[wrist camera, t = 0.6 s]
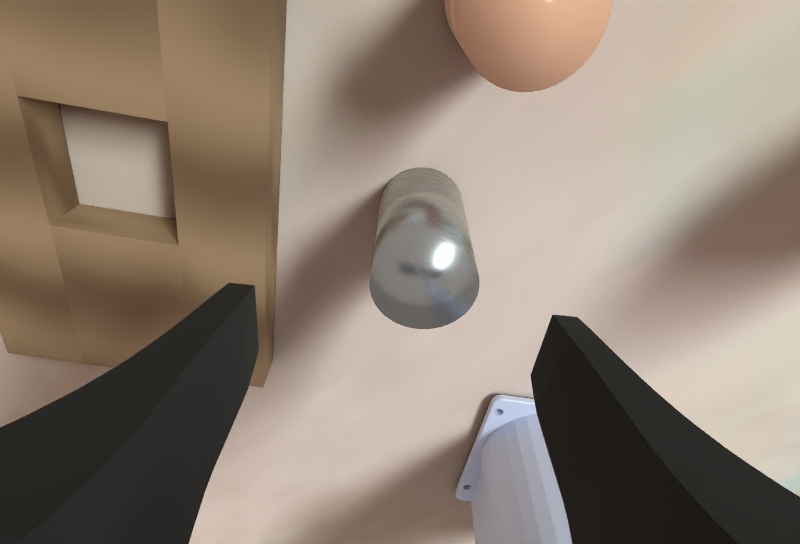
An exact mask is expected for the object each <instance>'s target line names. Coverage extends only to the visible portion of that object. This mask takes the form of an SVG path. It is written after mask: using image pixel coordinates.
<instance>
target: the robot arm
mask: <svg viewBox="0 0 800 544" xmlns="http://www.w3.org/2000/svg"><path fill="white" fill-rule="evenodd" d="M258 352H259V341H258V326H257V311H256V296H255V285H248V284H237V283H228V284H227V285H225V286H224V287H223V288H221V289H220V290H219V291H217V292H216V293H215V294H214V295H212V296H211V297H210V298H209V299H208V300H206V301H205V302H204V303H203V304H201V305H200V306H199V307H198V308H196V309H195V310H194V311H193V312H191V313H190V314H189V315H188V316H186V317H185V318H184V319H182V320H181V321H180V322H179V323H177V324H176V325H175V326H173V327H172V328H171V329H169V330H168V331H167V332H166V333H164V334H163V335H162V336H160V337H159V338H157V339H156V340H154V341H153V342H152V343H150V344H149V345H147V346H146V347H144V348H143V349H142V350H140V351H139V352H137V353H136V354H134V355H133V356H132V357H130V358H129V359H127V360H126V361H124V362H123V363H121V364H119V365H118V366H116V367H115V368H113V369H111V370H110V371H108V372H107V373H105V374H103V375H101V376H100V377H98V378H96V379H95V380H93V381H91V382H89V383H88V384H86V385H84V386H83V387H81V388H79V389H77V390H75V391H74V392H72V393H70V394H68V395H66V396H64V397H62V398H60V399H58V400H56V401H54V402H52V403H50V404H48V405H46V406H44V407H42V408H40V409H38V410H36V411H34V412H32V413H30V414H28V415H26V416H25V417H22V418H20V419H18V420H16V421H14V422H12V423H10V424H7V425H5V426H3V427H1V428H0V544H189V540H190V537H191V534H192V531H193V527H194V524H195V521H196V518H197V515H198V512H199V509H200V505H201V502H202V499H203V496H204V493H205V490H206V487H207V485H208V482H209V479H210V477H211V474H212V471H213V469H214V467H215V464H216V462H217V460H218V457H219V455H220V453H221V450H222V448H223V446H224V444H225V441H226V439H227V437H228V434H229V432H230V430H231V427H232V425H233V423H234V420H235V418H236V416H237V413H238V411H239V409H240V406H241V404H242V402H243V399H244V397H245V394H246V392H247V390H248V387H249V384H250V381H251V377H252V374H253V370H254V367H255V363H256V359H257V356H258ZM531 381H532V388H533V395H534V399H529V398H522V397H515V396H508V395H497V396H495V397H493V398H492V400H491V402H490V405H489V407H488V410H487V412H486V415H485V418H484V420H483V423H482V425H481V428H480V430H479V433H478V435H477V438H476V440H475V443H474V445H473V448H472V450H471V453H470V455H469V458H468V460H467V463H466V465H465V468H464V470H463V473H462V475H461V478H460V480H459V483H458V485H457V488H456V490H455V494H456V498H457V499H459V500H462V501H470V502H471V509H472V518H473V527H474V536H475V544H800V497H799V496H797V495H796V494H794V493H792V492H791V491H789V490H788V489H786V488H784V487H783V486H781V485H780V484H778V483H776V482H775V481H773V480H772V479H770V478H769V477H767V476H766V475H764V474H763V473H761V472H760V471H758V470H757V469H755V468H754V467H752V466H751V465H749V464H748V463H746V462H745V461H743V460H742V459H741V458H739V457H738V456H736V455H735V454H734V453H732V452H731V451H729V450H728V449H726V448H725V447H724V446H722V445H721V444H720V443H718V442H717V441H716V440H714V439H713V438H712V437H711V436H709V435H708V434H707V433H705V432H704V431H703V430H701V429H700V428H699V427H697V426H696V425H695V424H693V423H692V422H691V421H690V420H688V419H687V418H686V417H685V416H684V415H682V414H681V413H680V412H679V411H678V410H676V409H675V408H674V407H673V406H672V405H671V404H669V403H668V402H667V401H666V400H665V399H664V398H662V397H661V396H660V395H659V394H658V393H657V392H656V391H654V390H653V389H652V388H651V387H650V386H649V385H648V384H647V383H646V382H645V381H643V380H642V379H641V378H640V377H639V376H638V375H637V374H636V373H635V372H634V371H633V370H632V369H631V368H630V367H629V366H628V365H626V364H625V363H624V362H623V361H622V360H621V359H620V358H619V357H618V356H617V355H616V354H615V353H614V352H613V351H612V350H611V349H610V348H609V347H608V346H607V345H606V344H605V343H604V342H603V341H602V340H601V339H600V338H599V337H598V336H597V335H596V334H595V333H594V332H593V331H592V330H591V329H590V328H588V327H587V326H586V325H585V324H584V323H583V322H582V321H581V320H580V319H579V318H577V317H570V316H560V315H552V318H551V320H550V323H549V326H548V329H547V331H546V334H545V337H544V340H543V342H542V345H541V348H540V351H539V353H538V356H537V359H536V362H535V364H534V367H533V370H532V373H531ZM497 409H499V410H497Z"/></svg>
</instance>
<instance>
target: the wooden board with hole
mask: <svg viewBox="0 0 800 544" xmlns="http://www.w3.org/2000/svg"><path fill="white" fill-rule="evenodd" d="M286 3H287V0H0V333H1V335H2V338H3V341H4V344H5V346H6V349H7V352H8V353H13V354H20V355H28V356H35V357H42V358H50V359H57V360H65V361H72V362H79V363H87V364H94V365H102V366H109V367H116V366H118V365H119V364H121V363H123V362H124V361H126V360H127V359H129V358H130V357H132V356H133V355H134V354H136V353H137V352H139V351H140V350H142V349H143V348H144V347H146V346H147V345H149V344H150V343H152V342H153V341H154V340H156V339H157V338H159V337H160V336H162V335H163V334H164V333H166V332H167V331H168V330H169V329H171V328H172V327H173V326H175V325H176V324H177V323H179V322H180V321H181V320H182V319H184V318H185V317H186V316H188V315H189V314H190V313H191V312H193V311H194V310H195V309H196V308H198V307H199V306H200V305H201V304H203V303H204V302H205V301H206V300H208V299H209V298H210V297H211V296H212V295H214V294H215V293H216V292H217V291H219V290H220V289H221V288H223V287H224V286H225V285H227V284H228V283H237V284H248V285H255V296H256V311H257V326H258V341H259V352H258V356H257V359H256V363H255V367H254V370H253V374H252V377H251V381H250V384H249V386H257V387H263V385H264V383H265V380H266V377H267V374H268V371H269V368H270V366H271V363H272V360H273V340H274V315H275V289H276V263H277V237H278V211H279V185H280V159H281V133H282V107H283V81H284V55H285V29H286ZM58 103H62V104H68V105H73V106H79V107H85V108H90V109H96V110H102V111H108V112H113V113H119V114H125V115H131V116H136V117H142V118H148V119H154V120H159V121H165V122H168V133H169V144H170V155H171V166H172V177H173V188H174V200H175V211H176V220H175V219H169V218H163V217H156V216H150V215H144V214H138V213H131V212H125V211H119V210H113V209H106V208H100V207H94V206H87V205H81V204H79V200H78V195H77V191H76V186H75V181H74V176H73V171H72V167H71V162H70V157H69V152H68V147H67V143H66V138H65V133H64V128H63V123H62V119H61V114H60V109H59V104H58Z"/></svg>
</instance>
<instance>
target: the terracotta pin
mask: <svg viewBox="0 0 800 544" xmlns="http://www.w3.org/2000/svg"><path fill="white" fill-rule="evenodd" d="M611 6H612V0H444V7H445V14H446V19H447V22H448V25H449V27H450V29H451V31H452V33H453V34H454V36H455V38H456V39H457V41H458V43H459V44H460V46H461V47H462V49H463V51H464V52H465V54H466V56H467V57H468V59H469V60H470V62H471V63H472V65H473V66H474V68H475V69H476V70H477V71H478V72H479V73H480V75H482V76H483V77H484V78H485V79H486V80H488V81H489V82H491V83H493V84H494V85H496V86H498V87H501V88H503V89H507V90H511V91H517V92H532V91H538V90H542V89H546V88H549V87H551V86H554V85H556V84H558V83H560V82H562V81H563V80H565V79H567V78H568V77H569V76H571V75H572V74H573V73H575V72H576V71H577V70H578V69H579V68H580V67H581V66H582V65H583V64H584V63H585V62H586V61H587V60H588V59H589V57H590V56H591V55H592V53H593V52H594V50H595V49H596V47H597V46H598V44H599V42H600V40H601V38H602V36H603V34H604V32H605V29H606V26H607V23H608V20H609V16H610V11H611Z"/></svg>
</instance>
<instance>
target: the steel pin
mask: <svg viewBox="0 0 800 544" xmlns="http://www.w3.org/2000/svg"><path fill="white" fill-rule="evenodd" d="M478 290H479V276H478V271H477V266H476V262H475V257H474V252H473V248H472V243H471V239H470V234H469V229H468V225H467V220H466V216H465V211H464V206H463V202H462V197H461V194H460V191H459V189H458V187H457V185H456V184H455V183H454V182H453V180H452V179H450V178H449V177H448V176H447V175H445V174H444V173H442V172H440V171H437V170H435V169H431V168H413V169H409V170H406V171H404V172H401V173H400V174H398V175H397V176H395V177H394V178H393V179H392V180H391V181H390V182H389V183H388V184H387V186H386V187H385V189H384V191H383V193H382V196H381V200H380V208H379V215H378V223H377V231H376V238H375V246H374V253H373V261H372V268H371V276H370V292H371V296H372V298H373V301H374V303H375V304H376V306H377V307H378V309H379V310H380V311H381V312H382V313H383V314H384V315H385V316H386V317H388V318H389V319H390V320H392V321H394V322H396V323H398V324H400V325H403V326H406V327H410V328H416V329H431V328H437V327H442V326H445V325H448V324H450V323H452V322H454V321H456V320H457V319H459V318H460V317H462V316H463V315H464V314H465V313H466V312H467V311H468V310H469V309H470V308H471V306H472V305H473V303H474V301H475V300H476V297H477V295H478Z"/></svg>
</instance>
